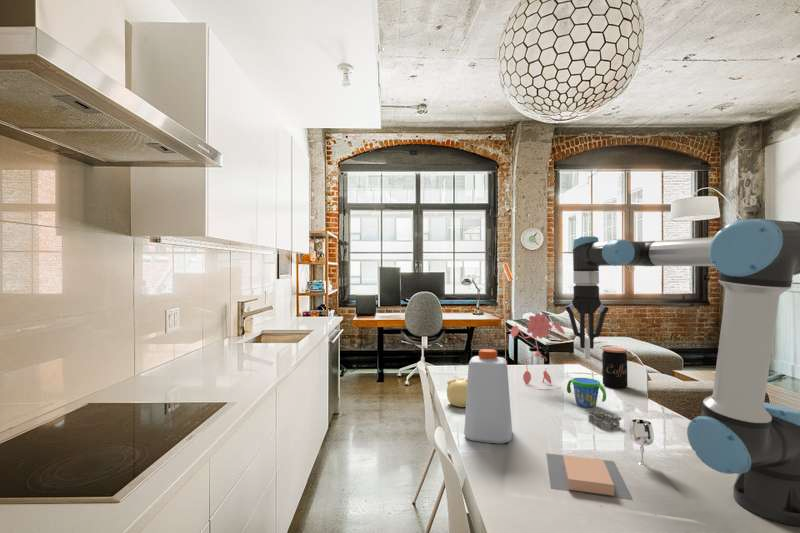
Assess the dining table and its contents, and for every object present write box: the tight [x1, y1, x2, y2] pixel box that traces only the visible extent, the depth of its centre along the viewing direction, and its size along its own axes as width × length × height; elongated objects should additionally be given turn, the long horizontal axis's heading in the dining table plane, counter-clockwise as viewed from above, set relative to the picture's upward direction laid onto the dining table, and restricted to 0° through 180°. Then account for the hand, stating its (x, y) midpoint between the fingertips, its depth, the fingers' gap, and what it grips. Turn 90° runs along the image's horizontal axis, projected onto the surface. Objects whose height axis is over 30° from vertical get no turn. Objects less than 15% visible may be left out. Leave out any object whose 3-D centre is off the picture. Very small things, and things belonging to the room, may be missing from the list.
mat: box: [545, 452, 634, 501], centre depth 108 cm, size 21×18×1 cm
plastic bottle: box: [463, 348, 513, 445], centre depth 136 cm, size 15×15×28 cm
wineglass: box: [629, 418, 655, 466], centre depth 114 cm, size 6×6×12 cm
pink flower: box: [510, 312, 566, 391], centre depth 198 cm, size 15×26×35 cm, turn 94°
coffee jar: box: [601, 346, 629, 390], centre depth 197 cm, size 11×11×18 cm
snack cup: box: [566, 377, 607, 409], centre depth 168 cm, size 16×10×10 cm
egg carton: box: [586, 410, 622, 431], centre depth 146 cm, size 11×8×4 cm
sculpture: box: [446, 377, 468, 408], centre depth 168 cm, size 11×12×11 cm
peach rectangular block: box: [562, 454, 614, 496], centre depth 104 cm, size 3×10×14 cm
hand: (586, 358), depth 131 cm, fingers closed
